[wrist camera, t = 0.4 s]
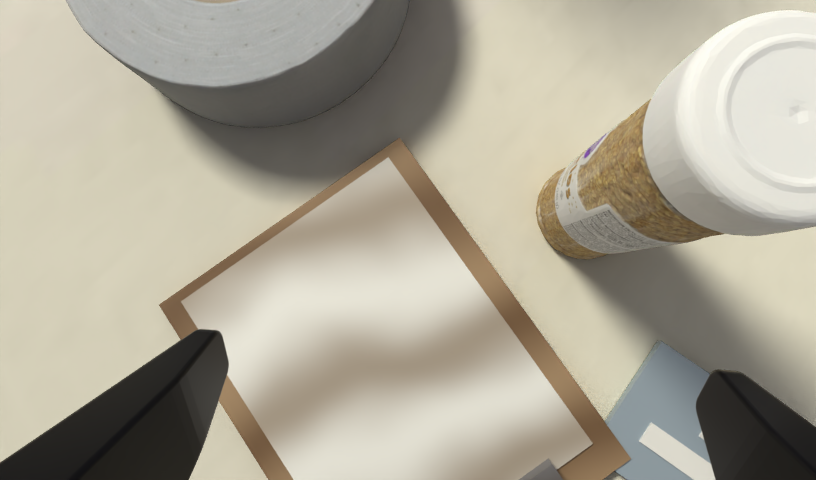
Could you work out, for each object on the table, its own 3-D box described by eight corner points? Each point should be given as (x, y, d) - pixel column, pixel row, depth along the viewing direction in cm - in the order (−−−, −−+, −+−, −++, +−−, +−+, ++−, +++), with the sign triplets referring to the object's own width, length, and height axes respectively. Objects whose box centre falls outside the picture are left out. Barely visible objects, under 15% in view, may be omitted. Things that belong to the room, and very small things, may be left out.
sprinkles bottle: (564, 149, 23) (754, -40, 10) (648, 198, 23) (967, 73, 9) (515, 228, 23) (640, 148, 9) (599, 280, 22) (854, 272, 9)
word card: (832, 458, 21) (842, 463, 21) (760, 574, 21) (768, 581, 20) (657, 340, 22) (663, 341, 21) (586, 449, 22) (589, 453, 21)
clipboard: (626, 454, 21) (639, 465, 20) (373, 636, 21) (369, 659, 20) (400, 140, 23) (398, 132, 22) (164, 304, 23) (149, 305, 22)
